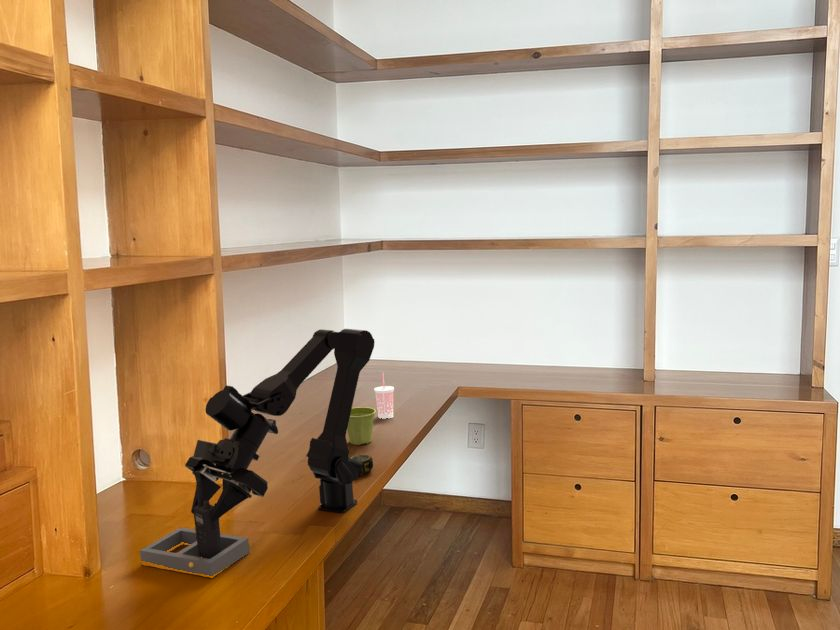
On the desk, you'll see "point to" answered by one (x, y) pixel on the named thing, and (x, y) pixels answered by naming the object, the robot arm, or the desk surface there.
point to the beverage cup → (384, 400)
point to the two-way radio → (206, 527)
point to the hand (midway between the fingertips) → (202, 516)
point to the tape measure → (361, 463)
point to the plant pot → (360, 425)
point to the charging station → (194, 552)
